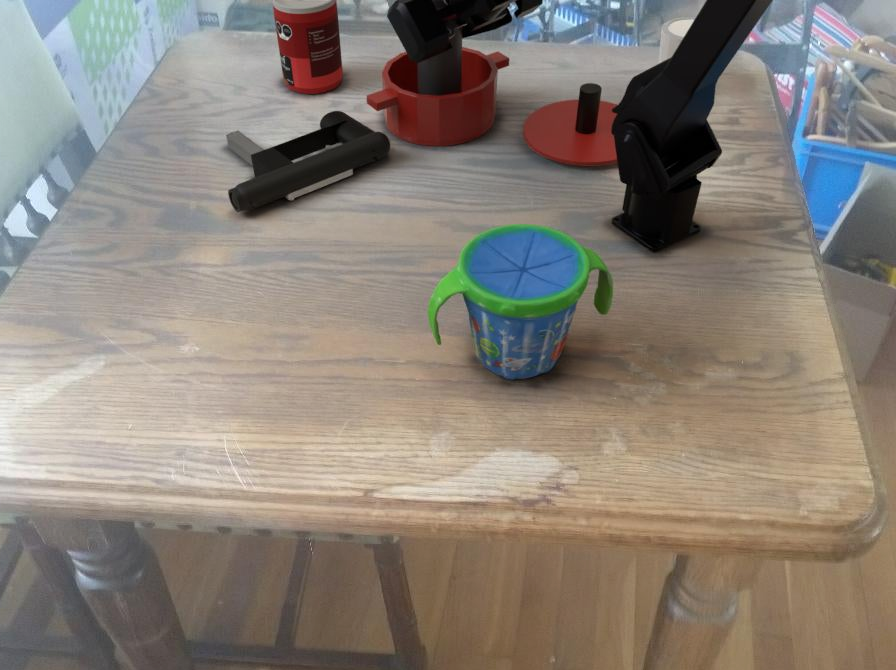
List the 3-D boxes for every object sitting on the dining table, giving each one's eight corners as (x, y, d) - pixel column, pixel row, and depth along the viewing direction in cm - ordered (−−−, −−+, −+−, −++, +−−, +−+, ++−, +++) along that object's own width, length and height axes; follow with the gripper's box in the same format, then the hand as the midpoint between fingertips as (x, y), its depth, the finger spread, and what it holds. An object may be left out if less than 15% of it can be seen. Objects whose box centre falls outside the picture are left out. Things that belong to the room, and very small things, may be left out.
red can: (290, 68, 117) (279, -17, 109) (348, 68, 116) (341, -17, 108) (277, 94, 112) (265, 8, 104) (338, 96, 111) (330, 8, 103)
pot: (534, 116, 105) (538, 68, 101) (404, 165, 99) (402, 116, 94) (470, 76, 113) (471, 30, 109) (346, 118, 107) (342, 72, 103)
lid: (674, 144, 99) (685, 93, 95) (576, 185, 94) (583, 133, 90) (591, 96, 108) (597, 47, 103) (497, 131, 103) (500, 82, 99)
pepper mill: (453, 115, 102) (454, -13, 91) (412, 109, 103) (408, -18, 93) (467, 95, 105) (469, -31, 95) (427, 89, 107) (424, -35, 96)
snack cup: (436, 405, 73) (436, 312, 65) (421, 323, 80) (419, 232, 72) (619, 386, 73) (639, 292, 66) (588, 306, 80) (602, 214, 73)
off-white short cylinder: (665, 67, 112) (675, 12, 107) (716, 79, 109) (730, 23, 104) (642, 88, 108) (652, 32, 103) (695, 102, 105) (708, 45, 100)
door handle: (179, 144, 100) (241, 198, 90) (326, 92, 107) (399, 136, 97) (186, 170, 102) (247, 226, 92) (329, 117, 109) (401, 163, 99)
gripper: (531, -131, 89) (456, -42, 103) (394, -84, 81) (334, 5, 95) (581, -31, 90) (501, 43, 105) (452, 24, 83) (384, 96, 97)
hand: (432, 44), depth 100 cm, fingers closed on pepper mill, 5 cm apart
